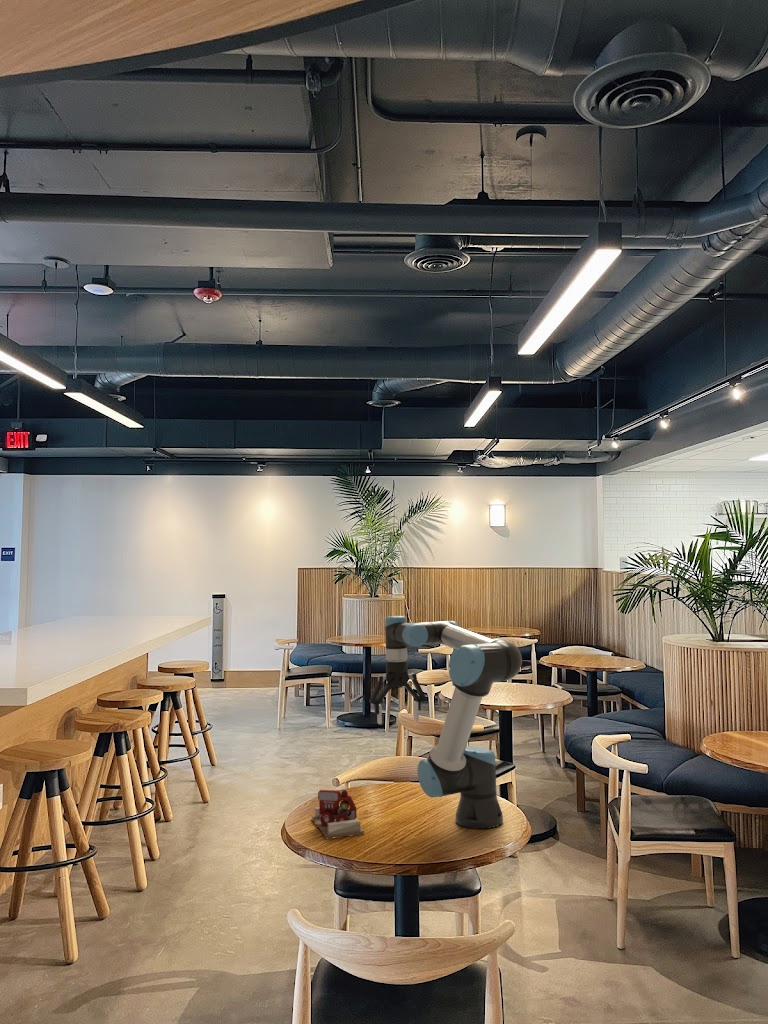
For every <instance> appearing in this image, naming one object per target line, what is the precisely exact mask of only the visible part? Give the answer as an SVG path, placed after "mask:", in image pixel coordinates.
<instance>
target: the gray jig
mask: <svg viewBox="0 0 768 1024" xmlns="http://www.w3.org/2000/svg"><path fill="white" fill-rule="evenodd" d="M340 809H341V808H340V803H339V809H338V813H339V810H340ZM312 819H313V821H314V822H315V823H316V825H317V826H318V827H319V829H320V830H321V831H322V833H323V834H324V835H325V837H326V838H333V837H341V838H344V837H343V836H348V837H351V836H350V835H355V836H360V835H364V834H365V830H364V829H363V828H362V827H361V820H360V819H359V818H356V819H355V820H347V821H340V822H336V819H335V820H333V822H332V823H328V826H324V825H322V823H321V821H320V819H321V818H320V816H319V806H315V807H314V816H311V820H312ZM313 821H312V822H313ZM314 822H313V823H314ZM315 823H314V824H315ZM316 825H315V826H316ZM317 826H316V827H317ZM318 827H317V828H318ZM319 829H318V830H319ZM320 830H319V831H320ZM321 831H320V832H321ZM322 833H321V834H322ZM323 834H322V835H323ZM324 835H323V836H324ZM325 837H324V838H325ZM326 838H325V839H326Z"/></svg>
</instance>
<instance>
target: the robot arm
mask: <svg viewBox="0 0 768 1024" xmlns="http://www.w3.org/2000/svg"><path fill="white" fill-rule="evenodd" d="M384 622H385V624H384V637H385V639H384V640H385V660H386V662H385V672H386V674H385V675H381V674H380V675H377V680H376V683H375V685H374V688H373V689H372V693H371V695H370V697H369V700H368V701H369V703H370V704H372V705H374V714H375V715H376V716H377V717H376V718H377V724H378V725H383V711H382V706H383V705H382V704H381V702H383V699H385V697H386V696H387V694H388V693H389V691H390V690H391V689H392V688H394V689H397V688H403V687H404V689H406V691H407V692H408V693H409V694H410V695H411V696H412V698H413V699H414V700H413V720H414V721H416V722H419V721H420V720H419V719H420V717H419V712H420V711H421V710H422V709H421V708H422V706H421V705H422V701H423V700H426V698H427V697H426V695H425V693H424V691H423V689H422V687H421V685H420V683H419V681H418V678H417V677H418V676H417V674H416V673H415V672H411V673H408V672H409V670H408V661H407V659H408V646H409V647H421V646H424V645H434V644H441V645H443V646H446V647H449V648H451V649H453V651H452V653H451V655H450V657H449V662H448V668H449V669H448V675H449V678H450V679H451V682H452V685H453V687H454V690H453V693H452V696H451V700H450V703H449V705H448V706H449V707H448V709H447V713H446V716H445V719H444V723H443V726H442V729H441V731H440V736H439V739H438V741H437V745H434V746H433V747H432V748H431V749H430V750H429V754H428V758H427V759H426V758H423V759H421V760H419V762H418V764H417V779H418V781H419V784H420V788H421V789H422V791H423V793H424V794H425V795H426V796H427V797H429V798H443V797H447V796H449V795H456V794H460V797H459V801H458V805H457V807H456V810H455V811H456V812H455V823H456V822H457V823H458V824H457V823H456V824H457V825H459V826H461V827H463V826H464V827H465V828H467V827H469V828H468V829H473V828H488V829H490V828H489V827H493V826H497V825H500V824H501V823H502V822H503V823H504V815H503V812H502V809H501V807H500V802H499V800H498V795H497V769H496V768H497V767H496V766H497V762H496V756H495V755H496V754H495V753H494V752H493V751H492V750H491V749H488V748H484V747H479V746H467V745H468V742H469V740H470V737H471V734H472V730H473V726H474V723H475V721H476V718H477V714H478V712H479V709H480V706H481V703H482V699H483V698H484V697H486V696H488V695H489V693H490V692H491V689H492V686H493V684H494V683H501V682H507V681H509V680H511V679H513V678H515V676H517V675H518V674H519V672H520V670H521V668H522V664H523V658H522V653H521V651H520V649H519V648H518V647H517V646H516V645H515V644H513V643H512V642H510V641H507V640H504V639H501V638H496V639H492V638H489V637H486V636H484V635H482V634H479V633H476V632H473V631H470V630H469V629H468V630H467V629H465V628H462V627H460V625H459V624H458V623H457V622H456V621H454V620H443V621H441V620H439V621H426V622H425V621H423V622H407V618H406V616H404V615H391V616H390V615H389V616H386V617H385V621H384ZM409 679H410V680H411V682H412V684H413V686H414V688H415V690H414V689H413V688H412V687H411V685H410V684H409V683H408V680H409ZM385 681H386V683H385V685H384V687H383V689H382V690H381V688H382V686H383V683H384V682H385ZM380 690H381V691H380ZM415 691H416V692H417V693H416V692H415ZM503 823H502V824H503ZM502 824H501V825H502ZM501 825H500V826H501ZM497 827H498V826H497Z"/></svg>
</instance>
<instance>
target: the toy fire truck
mask: <svg viewBox="0 0 768 1024" xmlns="http://www.w3.org/2000/svg"><path fill="white" fill-rule="evenodd" d="M348 793H349V792H348V791H347V790H346V789H345V790H344V789H343V790H342V791H340V790H334V789H333V790H329V789H320V790H319V791H318V793H317V799H318V801H319V806H318V807H319V816H320V818H321V819H320V821H321V823H322V825H324V826H328V823H332V822H333V820H335V819H336V822H340V821H347V820H355V819H357V806H356V804H355V802H354V799H353V797H352V796H351V795H348ZM339 804H340V808H341V809H340V810H339V813H338V809H339Z"/></svg>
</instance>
